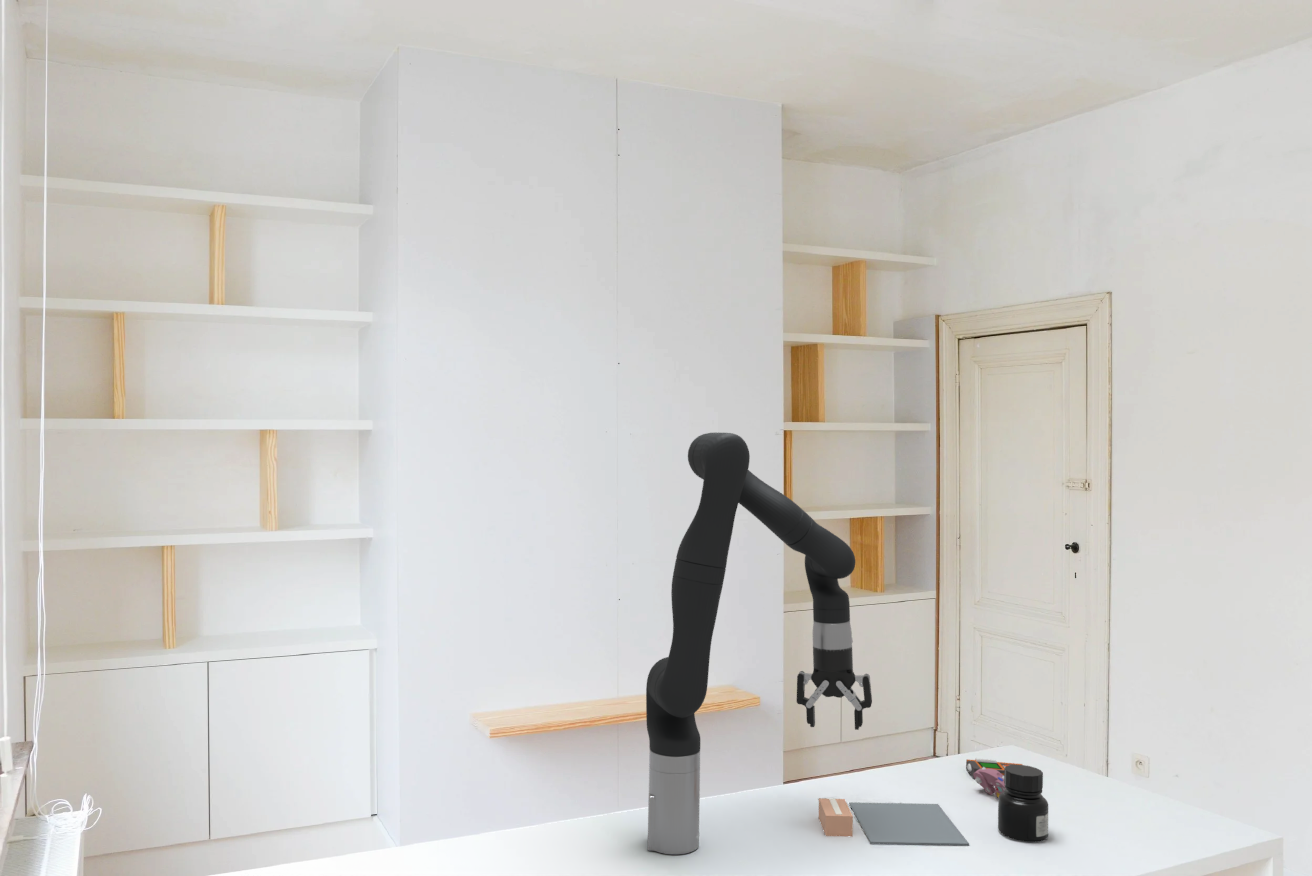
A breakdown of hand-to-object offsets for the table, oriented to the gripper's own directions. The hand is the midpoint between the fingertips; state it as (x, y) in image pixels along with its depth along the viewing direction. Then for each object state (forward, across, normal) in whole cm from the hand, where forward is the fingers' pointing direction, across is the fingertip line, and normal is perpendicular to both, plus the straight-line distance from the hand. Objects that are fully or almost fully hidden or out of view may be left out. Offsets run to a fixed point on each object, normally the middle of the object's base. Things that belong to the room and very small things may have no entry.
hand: (834, 727), depth 188 cm
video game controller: (+20, +30, +24) cm, 44 cm away
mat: (+19, +13, +3) cm, 23 cm away
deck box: (+18, 0, -3) cm, 19 cm away
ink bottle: (+20, +34, +5) cm, 40 cm away
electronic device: (+21, +32, +39) cm, 55 cm away
